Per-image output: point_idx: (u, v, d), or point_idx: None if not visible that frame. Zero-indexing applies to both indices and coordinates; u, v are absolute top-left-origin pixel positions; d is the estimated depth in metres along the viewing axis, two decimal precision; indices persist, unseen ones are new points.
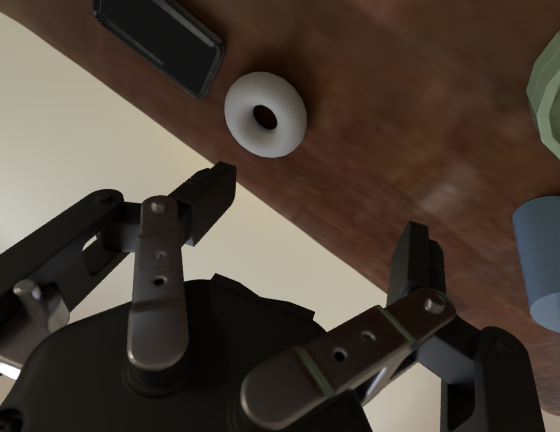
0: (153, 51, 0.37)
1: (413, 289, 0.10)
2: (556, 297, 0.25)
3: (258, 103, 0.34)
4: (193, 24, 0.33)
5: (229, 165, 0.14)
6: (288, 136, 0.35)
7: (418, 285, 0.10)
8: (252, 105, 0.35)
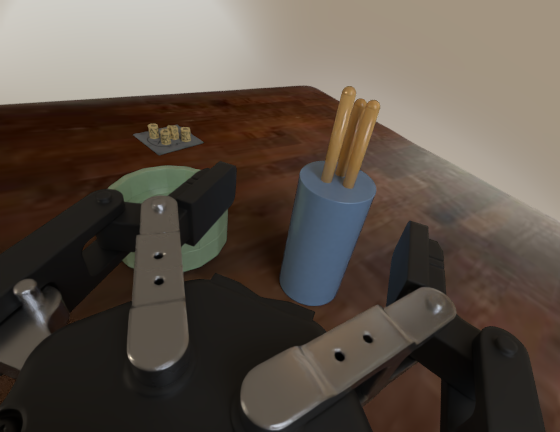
0: None
1: (413, 289, 0.10)
2: (312, 185, 0.23)
3: None
4: None
5: (229, 165, 0.14)
6: None
7: (418, 285, 0.10)
8: None
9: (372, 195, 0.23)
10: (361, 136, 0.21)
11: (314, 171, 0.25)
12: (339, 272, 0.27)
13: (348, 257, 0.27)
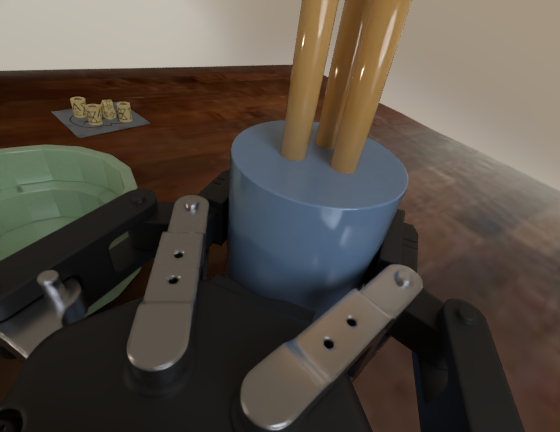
0: None
1: (386, 267, 0.11)
2: (256, 166, 0.10)
3: None
4: None
5: None
6: None
7: (390, 263, 0.11)
8: None
9: (401, 189, 0.10)
10: (379, 21, 0.08)
11: (269, 137, 0.11)
12: None
13: None
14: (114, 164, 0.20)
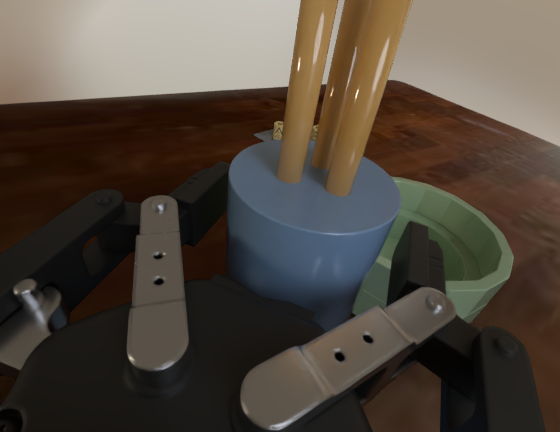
0: None
1: (413, 289, 0.10)
2: (253, 189, 0.10)
3: None
4: None
5: (229, 165, 0.14)
6: None
7: (418, 285, 0.10)
8: None
9: (394, 212, 0.10)
10: (369, 56, 0.08)
11: (266, 158, 0.12)
12: None
13: None
14: (442, 193, 0.25)
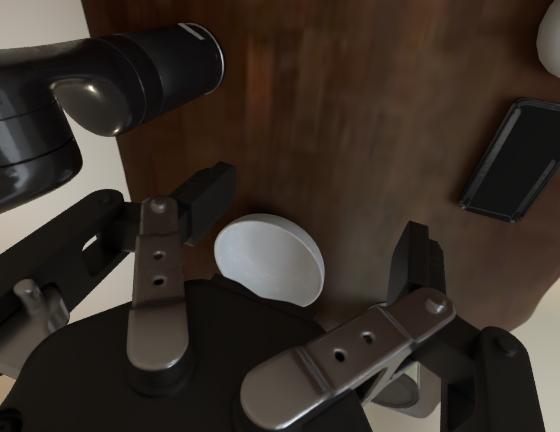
0: (540, 169, 0.38)
1: (413, 289, 0.10)
2: None
3: None
4: (501, 131, 0.37)
5: (229, 165, 0.14)
6: None
7: (418, 285, 0.10)
8: None
9: None
10: None
11: None
12: None
13: None
14: None
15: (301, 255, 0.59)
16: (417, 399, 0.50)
